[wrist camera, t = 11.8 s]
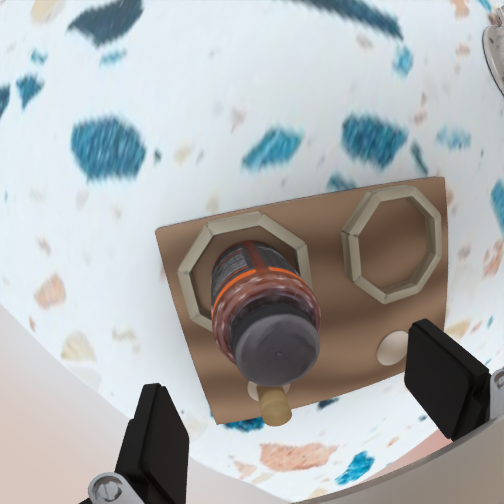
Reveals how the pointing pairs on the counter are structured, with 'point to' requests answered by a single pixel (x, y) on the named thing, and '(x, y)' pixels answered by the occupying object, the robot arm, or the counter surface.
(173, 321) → the counter surface
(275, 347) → the supplement bottle
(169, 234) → the board
